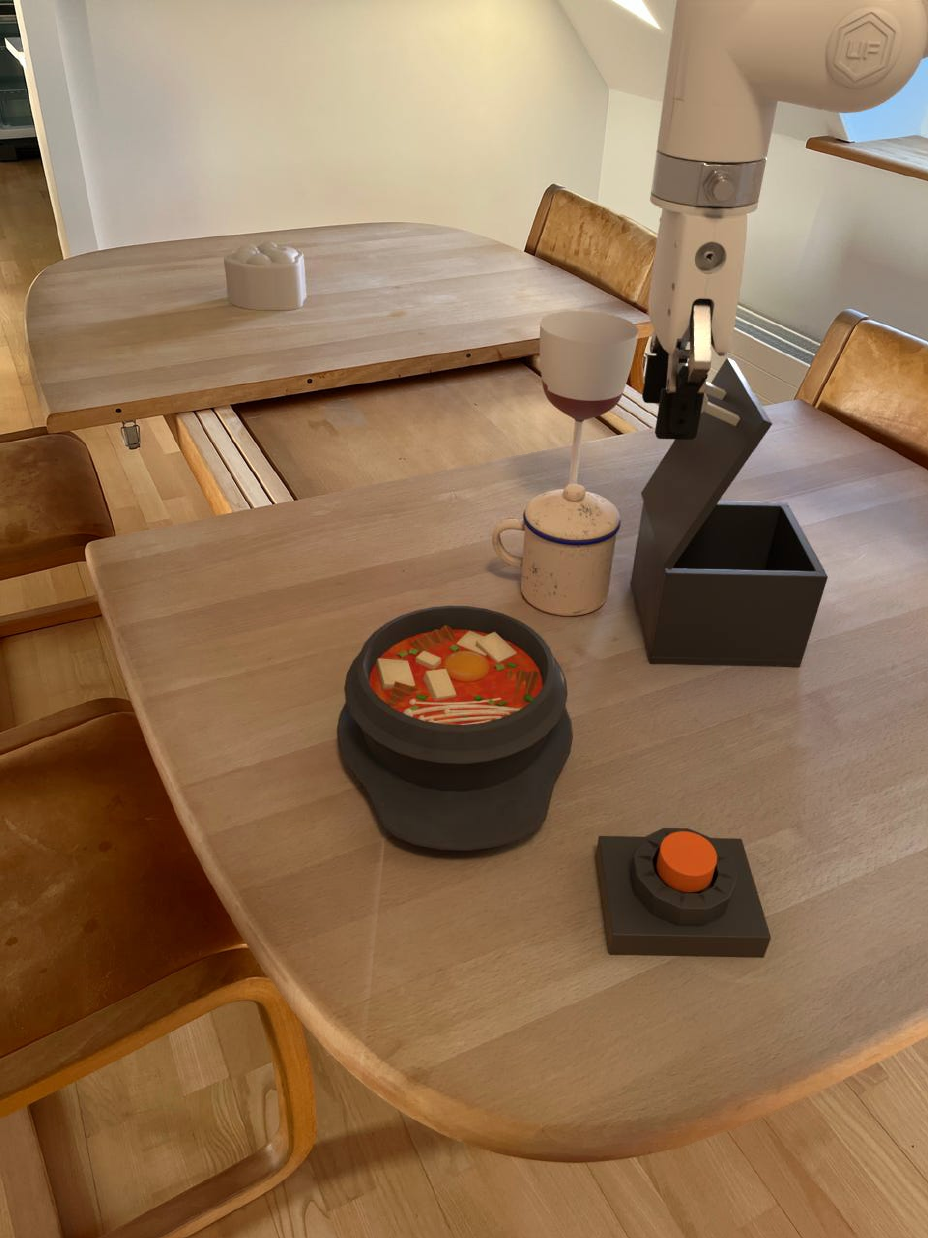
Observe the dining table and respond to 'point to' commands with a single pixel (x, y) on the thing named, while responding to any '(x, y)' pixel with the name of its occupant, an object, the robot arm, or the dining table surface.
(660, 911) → the control block
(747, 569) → the grey hinged-lid box
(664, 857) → the button
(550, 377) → the wineglass
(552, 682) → the casserole
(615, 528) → the teacup with lid
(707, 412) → the lid
